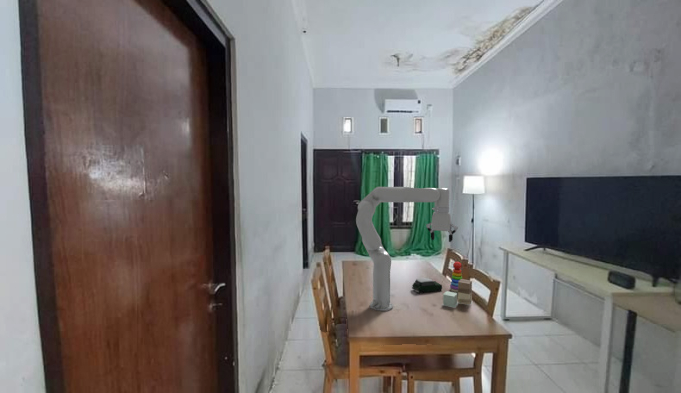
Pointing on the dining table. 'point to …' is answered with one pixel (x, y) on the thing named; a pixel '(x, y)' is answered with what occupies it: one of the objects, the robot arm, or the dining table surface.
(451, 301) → the sage block
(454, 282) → the stacking toy
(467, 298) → the beech block
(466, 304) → the blueprint mat
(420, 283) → the miniature car
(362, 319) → the dining table surface
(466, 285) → the walnut block
